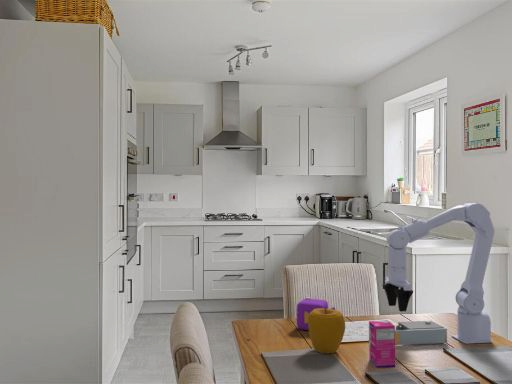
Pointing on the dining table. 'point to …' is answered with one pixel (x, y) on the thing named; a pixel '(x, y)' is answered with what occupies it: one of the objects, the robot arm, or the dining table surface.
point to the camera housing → (418, 326)
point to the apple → (326, 329)
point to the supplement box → (382, 344)
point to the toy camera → (308, 310)
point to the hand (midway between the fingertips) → (397, 308)
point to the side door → (420, 336)
